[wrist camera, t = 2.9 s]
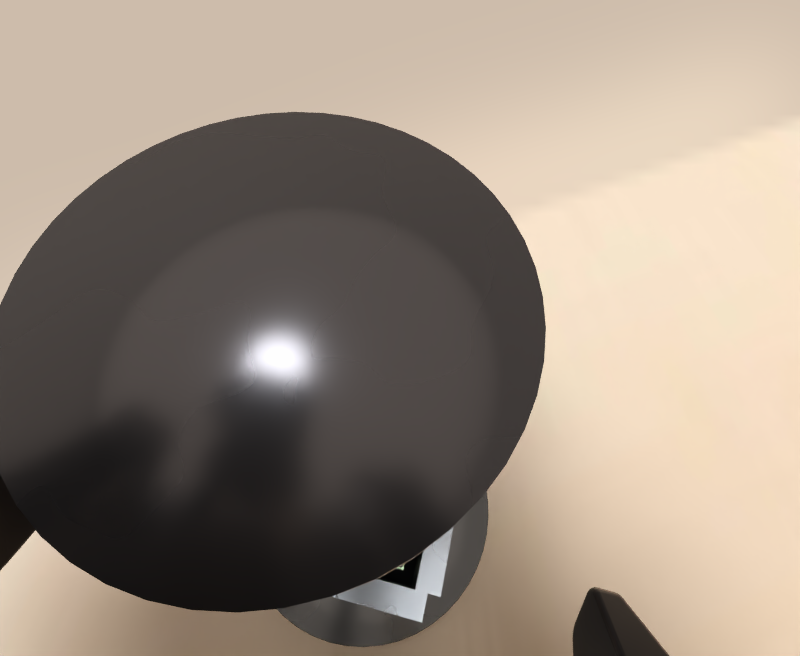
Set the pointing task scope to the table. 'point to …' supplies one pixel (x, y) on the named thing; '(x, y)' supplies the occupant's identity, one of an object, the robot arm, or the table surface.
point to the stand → (400, 591)
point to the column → (266, 361)
